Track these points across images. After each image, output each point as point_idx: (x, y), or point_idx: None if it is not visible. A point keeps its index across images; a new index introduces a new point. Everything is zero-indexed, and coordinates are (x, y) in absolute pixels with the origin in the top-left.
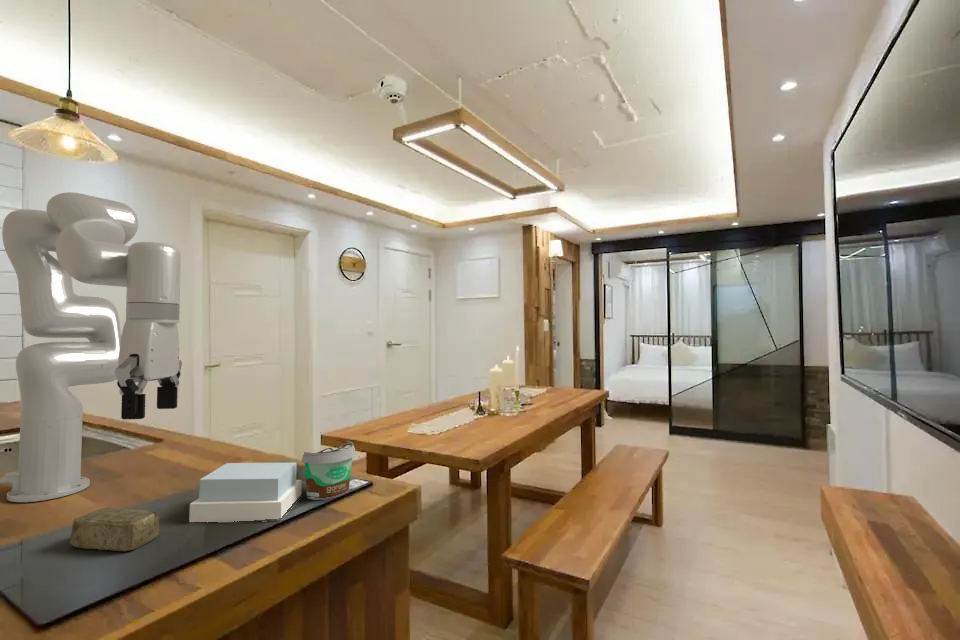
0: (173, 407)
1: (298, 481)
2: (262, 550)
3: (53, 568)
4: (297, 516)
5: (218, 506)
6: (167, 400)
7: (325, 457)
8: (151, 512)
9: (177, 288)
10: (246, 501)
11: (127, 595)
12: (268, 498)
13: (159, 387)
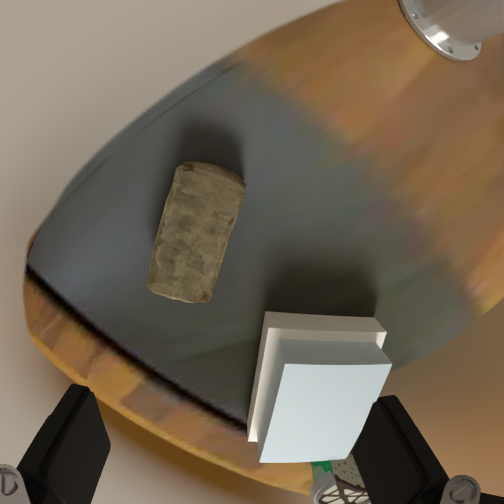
0: (354, 452)
1: None
2: (161, 417)
3: (125, 184)
4: None
5: (260, 368)
6: (373, 460)
7: (313, 497)
8: (197, 298)
9: None
10: (261, 404)
11: (67, 318)
12: (259, 430)
13: (424, 488)
